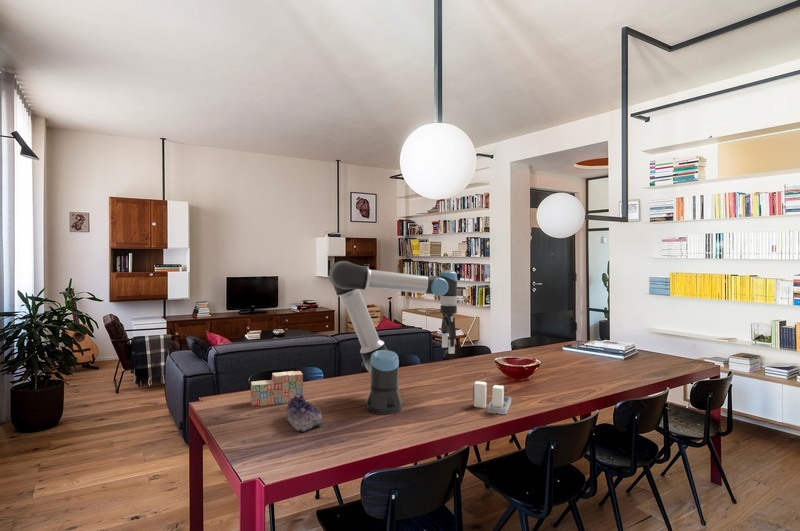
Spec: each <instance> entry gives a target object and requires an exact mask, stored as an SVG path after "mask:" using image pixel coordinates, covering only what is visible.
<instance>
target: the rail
mask: <svg viewBox="0 0 800 531" xmlns="http://www.w3.org/2000/svg"><path fill="white" fill-rule="evenodd" d="M511 403H512V397H511V396H504V406H503V408H500V407H492V399H491V400H490V402H489V403H488V405H487V410H486V413H491V414H496V413H498V414H497V415H504V414H507V412H508V411H509V408H510V405H511ZM507 410H508V411H507Z"/></svg>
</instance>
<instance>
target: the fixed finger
mask: <svg viewBox="0 0 800 531" xmlns="http://www.w3.org/2000/svg"><path fill="white" fill-rule="evenodd" d="M504 391H505V386H504V385H499V384H494V385H493V386H492V395H491V396H492V398H491V400H492V407H500V408H503V406H504V395H505V394H504V393H505V392H504Z"/></svg>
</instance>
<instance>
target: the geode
mask: <svg viewBox="0 0 800 531" xmlns="http://www.w3.org/2000/svg"><path fill="white" fill-rule="evenodd" d="M286 412H287V413H286V418H285V419H286V421H287V422H288V423H289V425H291V427H293V428H294V430H296V431H297V432H302V433H305V432H306V431H309V430H312V429H313V428H316V427H319V426H321V425H323V416H322V415H323V413H322V411H321V409H320V408H319V407H318V406H314V405H313V404H311V403H310V402H309V401H307V399H305V396H302V395H301V396H300V397H299V398H298V397H296V396H295V397H294V399H292V398H291V401H290V402H289V403H287V410H286Z"/></svg>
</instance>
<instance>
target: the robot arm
mask: <svg viewBox="0 0 800 531" xmlns="http://www.w3.org/2000/svg"><path fill="white" fill-rule="evenodd" d="M328 279H329V282H330V283H331V284H332V286H333V288H334V291H335V293H336V296H337V297H339V298H341V300H342V301H343V304H344V308H345V309H346V311H347V314H348V316H349V319H350V321H351V323H352V327H353V329H354V331H355V335H356V336H357V339H358V341H359V344H360V346H361V347H360V351H359V353H360V355H361V358H362V360H363V365H364V366H363V367H364V368H365V369H366V370H367V371H368V373H369V374H370V390H369V394H368V396H367V399H366V404H365V407H366V408H365V409H366V410H367V411H368V412H370V413H372V414H379V415H390V414H396V413H399V412H400V411H402V409H403V401H402V398H401V395H400V392H399V365H400V360H399V355H398V354H397V353H396V352H395V351H392V350H388V348H387V345H386V344H385V341H384V340H381V339H380V337H379V334H378V332H377V329H376V327H375V324H374V322H373V321H372V320H373V319H372V316H371V315H370V313H369V310H368V307H367V304H366V301H365V299H364V297H363V294H362V291H361V290H363V291H366V289H368V288H369V289H379V290H389V291H399V292H404V293H405V292H407V293H415V294H423V295H424V294H426V295H435V296H436V297H440V300H439V301H440V304H441V305H440V310H439V311H440V314H442V319H441V320H442V321H441V326H440V327H441V328H440V332H441V348H442V349H443V348H448V350H447V351H448V355H449V354H456V352H455V351H456V347H455V346H456V345H455V344H456V339H457V333H456V332H457V330H456V323H455V322H456V319H455V318H456V317H455V316H453V315H455V314H457V313H458V310H457V309H458V308H457V307H458V306H457V304H458V303H457V301H458V299H459V298H458V294H457V293H458V275H457V272H456V271H449V270H448V271H445V270H444V271H441V272H440V275H418V274H410V273H402V272H393V271H384V270H376V269H370V268H369V267H368V266H365V265H364V266H363V265H359V264H355V263H354V262H353V263H352V262H350V261H347V260H340V261H337V262H335V263H334V264H332V265H331V267H330V269H329V270H328Z"/></svg>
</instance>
